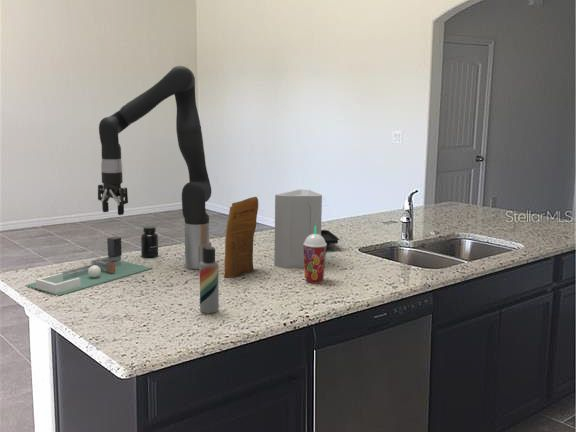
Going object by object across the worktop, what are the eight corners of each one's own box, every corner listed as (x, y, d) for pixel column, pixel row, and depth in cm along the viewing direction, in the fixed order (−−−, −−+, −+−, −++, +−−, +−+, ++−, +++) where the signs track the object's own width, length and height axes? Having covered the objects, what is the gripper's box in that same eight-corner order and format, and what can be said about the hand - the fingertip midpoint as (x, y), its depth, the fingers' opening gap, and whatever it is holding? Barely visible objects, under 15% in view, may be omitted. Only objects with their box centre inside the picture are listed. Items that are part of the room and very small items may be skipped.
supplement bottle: (154, 258, 250) (153, 229, 248) (138, 257, 251) (137, 228, 249) (161, 254, 257) (160, 226, 254) (145, 253, 258) (144, 225, 256)
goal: (80, 286, 211) (80, 278, 210) (55, 293, 203) (55, 285, 202) (61, 281, 217) (61, 272, 216) (36, 288, 209) (35, 279, 208)
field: (152, 268, 235) (152, 267, 235) (58, 296, 202) (58, 295, 202) (120, 261, 245) (120, 260, 245) (25, 286, 212) (25, 285, 212)
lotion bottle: (200, 307, 193) (199, 244, 189) (218, 307, 194) (218, 244, 190) (199, 313, 188) (198, 249, 184) (218, 313, 188) (218, 249, 184)
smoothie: (328, 279, 226) (329, 225, 222) (322, 285, 218) (323, 229, 214) (306, 276, 228) (307, 223, 224) (299, 282, 220) (300, 227, 217)
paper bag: (306, 272, 234) (307, 198, 229) (273, 266, 242) (274, 194, 236) (330, 261, 250) (332, 192, 244) (299, 256, 257) (300, 189, 252)
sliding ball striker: (136, 266, 235) (135, 240, 233) (111, 273, 226) (110, 246, 224) (116, 261, 242) (115, 236, 240) (90, 268, 232) (89, 242, 230)
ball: (103, 277, 222) (103, 265, 222) (93, 279, 219) (93, 267, 218) (95, 274, 225) (95, 263, 224) (85, 277, 221) (85, 265, 220)
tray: (268, 245, 275) (269, 234, 274) (297, 236, 294) (297, 225, 294) (327, 256, 259) (328, 243, 258) (353, 245, 278) (354, 234, 277)
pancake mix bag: (263, 269, 237) (264, 196, 232) (231, 280, 222) (230, 203, 217) (250, 266, 241) (250, 194, 236) (217, 277, 226) (216, 201, 220)
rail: (121, 264, 239) (120, 260, 238) (57, 281, 216) (57, 277, 216) (113, 262, 241) (113, 258, 241) (50, 279, 218) (49, 275, 218)
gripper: (132, 171, 232) (133, 214, 235) (107, 168, 239) (108, 209, 243) (116, 173, 226) (117, 217, 229) (91, 169, 233) (92, 212, 236)
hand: (113, 213), depth 236 cm, fingers open, 8 cm apart
